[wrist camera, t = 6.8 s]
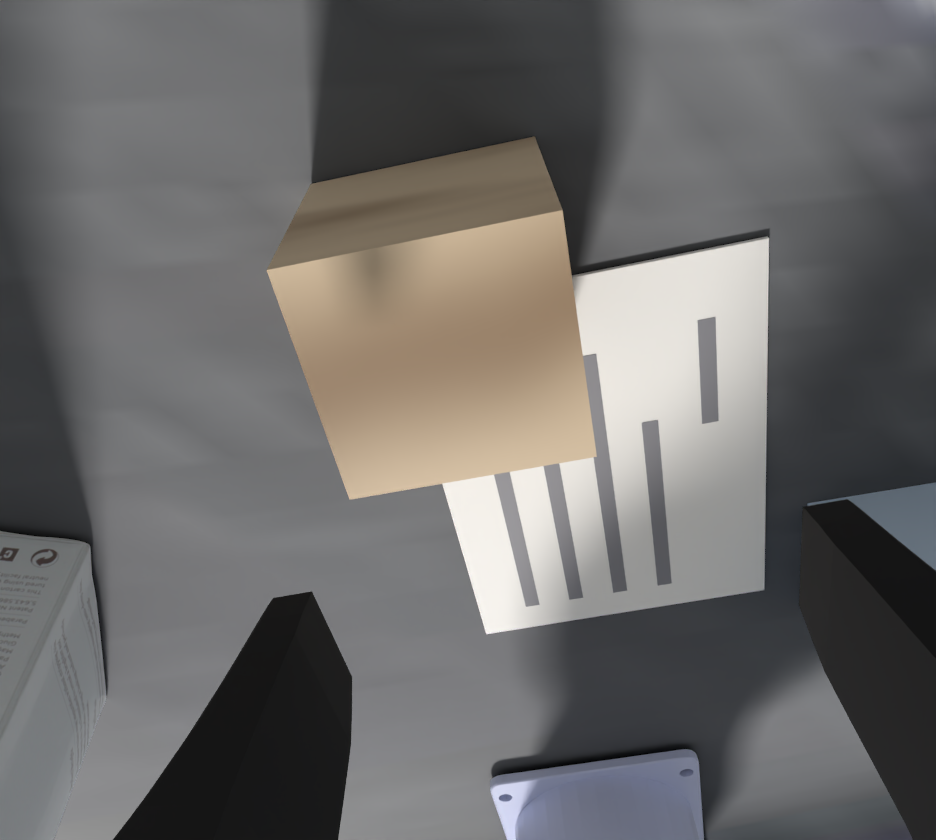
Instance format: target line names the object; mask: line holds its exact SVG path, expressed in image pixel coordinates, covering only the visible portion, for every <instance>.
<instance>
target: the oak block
mask: <svg viewBox="0 0 936 840" xmlns="http://www.w3.org/2000/svg"><path fill="white" fill-rule="evenodd" d="M267 272H268V275H269V278H270V281H271V283H272V286H273V289H274V292H275V295H276V297H277V300H278V303H279V306H280V308H281V311H282V314H283V317H284V319H285V322H286V325H287V328H288V330H289V333H290V336H291V339H292V341H293V344H294V347H295V350H296V353H297V355H298V358H299V361H300V364H301V366H302V369H303V372H304V375H305V377H306V380H307V383H308V386H309V388H310V391H311V394H312V397H313V399H314V402H315V405H316V408H317V411H318V413H319V416H320V419H321V422H322V424H323V427H324V430H325V433H326V435H327V438H328V441H329V444H330V446H331V449H332V452H333V455H334V457H335V460H336V463H337V466H338V469H339V471H340V474H341V477H342V480H343V482H344V485H345V488H346V491H347V493H348V496H349V499H356V498H362V497H368V496H373V495H379V494H385V493H391V492H397V491H402V490H408V489H414V488H420V487H425V486H431V485H437V484H443V483H448V482H454V481H460V480H466V479H471V478H477V477H483V476H489V475H495V474H500V473H506V472H512V471H518V470H523V469H529V468H535V467H541V466H546V465H552V464H558V463H564V462H569V461H575V460H581V459H587V458H593V457H597V454H596V447H595V440H594V432H593V425H592V418H591V411H590V404H589V397H588V389H587V382H586V375H585V368H584V361H583V353H582V346H581V339H580V332H579V325H578V318H577V310H576V303H575V296H574V289H573V282H572V274H571V267H570V260H569V253H568V246H567V238H566V231H565V224H564V217H563V210H562V207H561V205H560V202H559V199H558V197H557V194H556V191H555V189H554V186H553V184H552V181H551V178H550V176H549V173H548V170H547V168H546V165H545V162H544V160H543V157H542V154H541V152H540V149H539V147H538V144H537V141H536V139H535V136H534V137H530V138H525V139H520V140H515V141H511V142H506V143H501V144H497V145H492V146H487V147H482V148H478V149H473V150H468V151H464V152H459V153H454V154H450V155H445V156H440V157H435V158H431V159H426V160H421V161H417V162H412V163H407V164H402V165H398V166H393V167H388V168H384V169H379V170H374V171H369V172H365V173H360V174H355V175H351V176H346V177H341V178H337V179H332V180H327V181H322V182H318V183H313V184H311V185H310V187H309V189H308V191H307V193H306V195H305V197H304V199H303V200H302V202H301V204H300V206H299V208H298V210H297V212H296V214H295V216H294V218H293V220H292V222H291V224H290V226H289V228H288V230H287V232H286V234H285V236H284V237H283V239H282V241H281V243H280V245H279V247H278V249H277V251H276V253H275V255H274V257H273V259H272V261H271V263H270V265H269V267H268V269H267Z"/></svg>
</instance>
